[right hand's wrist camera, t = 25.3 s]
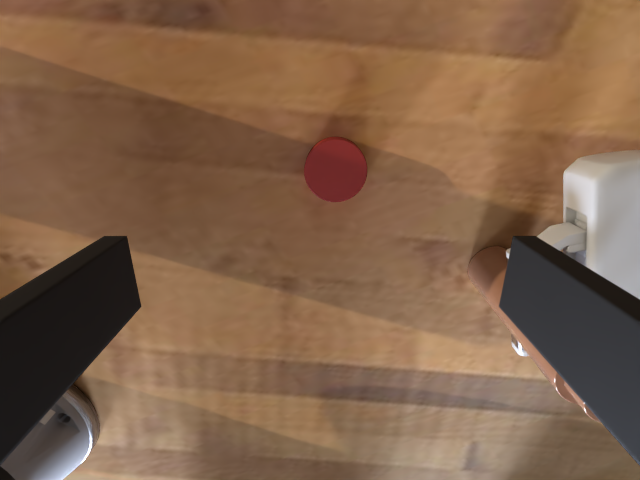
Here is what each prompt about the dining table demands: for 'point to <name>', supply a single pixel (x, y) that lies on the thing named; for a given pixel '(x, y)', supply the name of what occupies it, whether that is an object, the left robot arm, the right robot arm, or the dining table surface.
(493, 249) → the jar
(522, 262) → the right robot arm
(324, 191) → the lid
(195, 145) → the dining table surface
